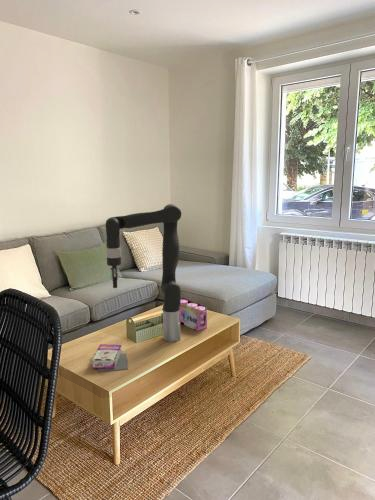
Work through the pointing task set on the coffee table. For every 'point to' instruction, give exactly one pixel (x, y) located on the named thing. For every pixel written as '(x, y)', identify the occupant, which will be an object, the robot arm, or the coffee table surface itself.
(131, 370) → the coffee table surface
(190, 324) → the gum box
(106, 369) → the mat
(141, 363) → the coffee table surface
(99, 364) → the candy bar box
